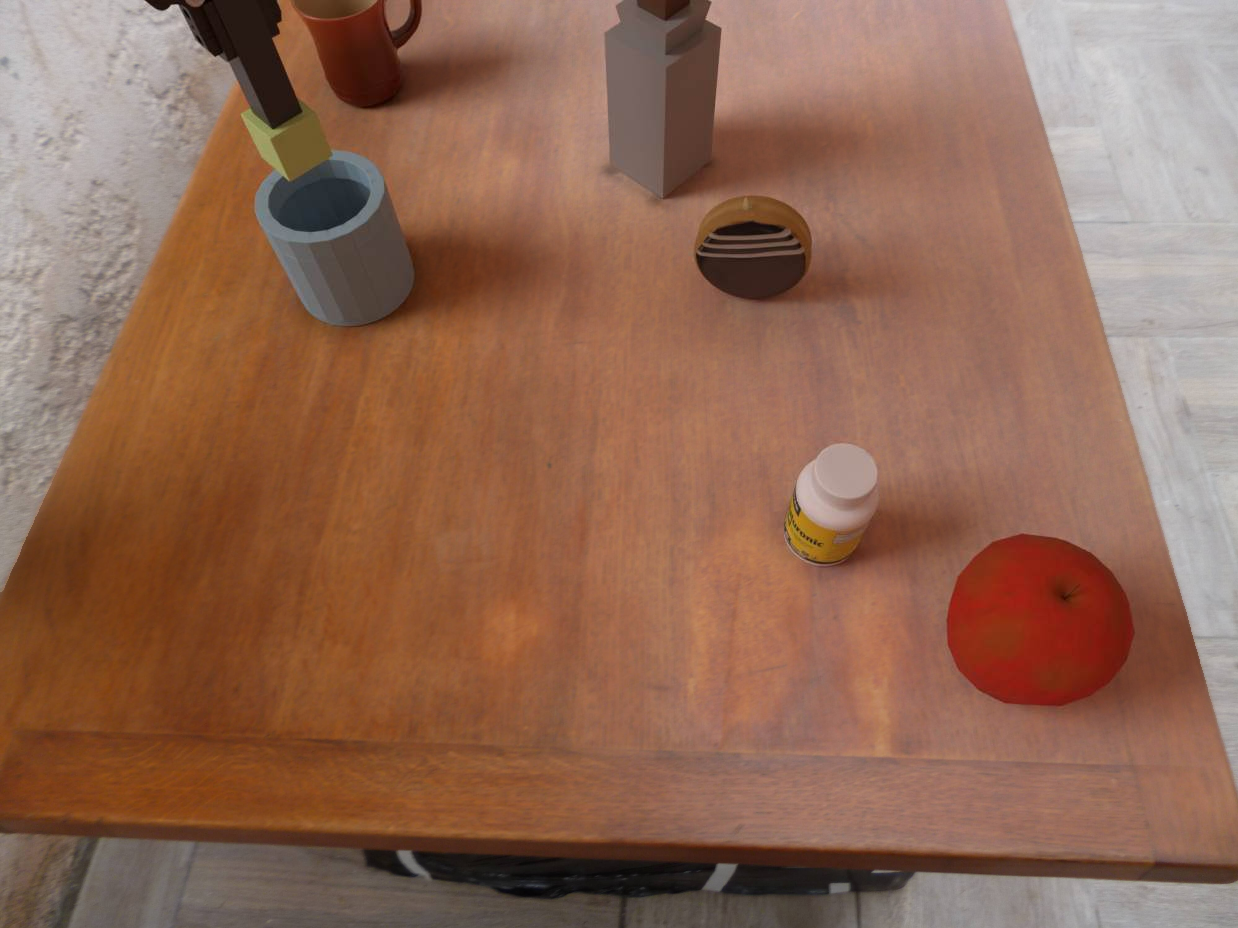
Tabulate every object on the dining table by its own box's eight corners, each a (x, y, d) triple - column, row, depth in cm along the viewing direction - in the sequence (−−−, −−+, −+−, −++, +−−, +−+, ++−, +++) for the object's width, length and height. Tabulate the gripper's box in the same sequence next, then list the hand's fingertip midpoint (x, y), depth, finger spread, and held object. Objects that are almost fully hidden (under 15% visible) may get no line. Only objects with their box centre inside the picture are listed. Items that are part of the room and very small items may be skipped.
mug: (347, 128, 84) (312, 32, 76) (312, 81, 88) (275, -16, 79) (454, 83, 88) (432, -15, 79) (416, 40, 91) (391, -59, 82)
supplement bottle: (768, 516, 62) (788, 448, 54) (834, 490, 63) (863, 420, 55) (803, 580, 60) (830, 520, 51) (871, 552, 61) (908, 489, 52)
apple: (921, 571, 60) (976, 496, 50) (1068, 583, 59) (1154, 510, 49) (932, 716, 55) (996, 665, 45) (1092, 731, 54) (1194, 683, 44)
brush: (290, 182, 58) (199, -12, 46) (261, 157, 59) (165, -38, 48) (333, 156, 59) (255, -40, 47) (304, 131, 61) (221, -65, 49)
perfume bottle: (710, 161, 81) (726, -27, 65) (662, 199, 79) (667, 13, 63) (657, 129, 83) (661, -60, 68) (610, 165, 81) (601, -22, 65)
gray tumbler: (344, 346, 71) (303, 263, 62) (277, 283, 75) (229, 196, 66) (437, 280, 74) (410, 192, 66) (369, 222, 78) (334, 132, 69)
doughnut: (689, 296, 73) (695, 209, 64) (695, 264, 75) (702, 174, 66) (799, 311, 72) (821, 224, 63) (803, 278, 74) (825, 189, 65)
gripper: (179, -393, 40) (306, -31, 56) (-111, -297, 36) (113, 70, 51) (266, -352, 38) (375, 18, 53) (-36, -242, 33) (177, 128, 48)
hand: (245, 42), depth 52 cm, fingers closed on brush, 2 cm apart
